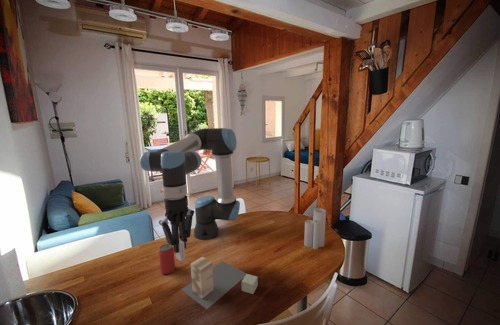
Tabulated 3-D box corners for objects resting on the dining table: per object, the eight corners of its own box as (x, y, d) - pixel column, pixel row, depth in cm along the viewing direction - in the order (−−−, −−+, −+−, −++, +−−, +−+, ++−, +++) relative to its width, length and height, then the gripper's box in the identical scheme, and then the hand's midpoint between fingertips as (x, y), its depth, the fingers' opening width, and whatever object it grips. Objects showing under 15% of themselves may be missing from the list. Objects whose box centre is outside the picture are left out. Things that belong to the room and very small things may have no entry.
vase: (318, 239, 132) (320, 207, 128) (327, 246, 125) (329, 212, 121) (302, 243, 127) (303, 210, 123) (310, 250, 121) (311, 215, 117)
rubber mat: (181, 290, 94) (180, 289, 94) (222, 262, 112) (222, 260, 112) (206, 310, 84) (206, 309, 84) (247, 275, 103) (247, 274, 102)
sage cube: (241, 292, 93) (241, 281, 92) (246, 283, 98) (246, 273, 97) (253, 295, 91) (252, 284, 90) (257, 287, 96) (257, 276, 95)
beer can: (178, 267, 109) (176, 244, 106) (169, 276, 103) (166, 252, 100) (166, 264, 111) (164, 242, 109) (157, 273, 105) (154, 249, 102)
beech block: (192, 292, 92) (190, 263, 90) (204, 283, 97) (202, 256, 94) (202, 299, 89) (200, 269, 86) (213, 290, 93) (212, 261, 91)
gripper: (164, 204, 70) (170, 272, 75) (198, 193, 80) (202, 253, 85) (151, 199, 74) (157, 263, 79) (185, 189, 85) (189, 246, 89)
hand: (180, 258), depth 82 cm, fingers closed
